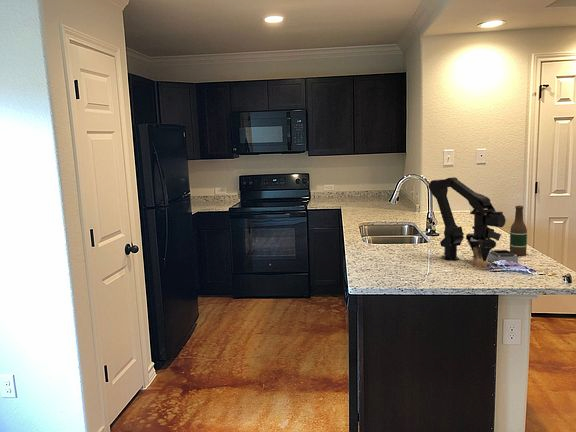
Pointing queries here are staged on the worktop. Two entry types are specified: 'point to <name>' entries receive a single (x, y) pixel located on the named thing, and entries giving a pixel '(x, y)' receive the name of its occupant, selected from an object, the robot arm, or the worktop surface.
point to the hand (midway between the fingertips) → (480, 258)
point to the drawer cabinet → (502, 256)
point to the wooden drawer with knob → (478, 257)
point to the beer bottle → (518, 234)
